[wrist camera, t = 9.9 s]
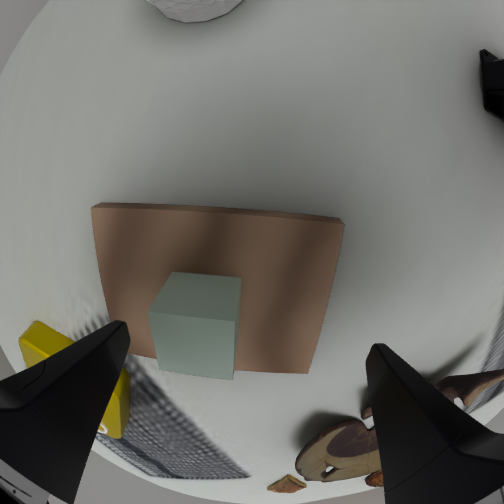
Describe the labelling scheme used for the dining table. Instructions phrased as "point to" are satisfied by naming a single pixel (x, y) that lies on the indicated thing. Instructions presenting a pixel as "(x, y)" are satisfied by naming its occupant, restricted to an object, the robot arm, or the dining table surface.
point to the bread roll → (375, 479)
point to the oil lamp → (372, 435)
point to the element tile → (50, 342)
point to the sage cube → (197, 324)
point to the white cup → (194, 9)
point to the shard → (287, 485)
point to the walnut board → (223, 272)
